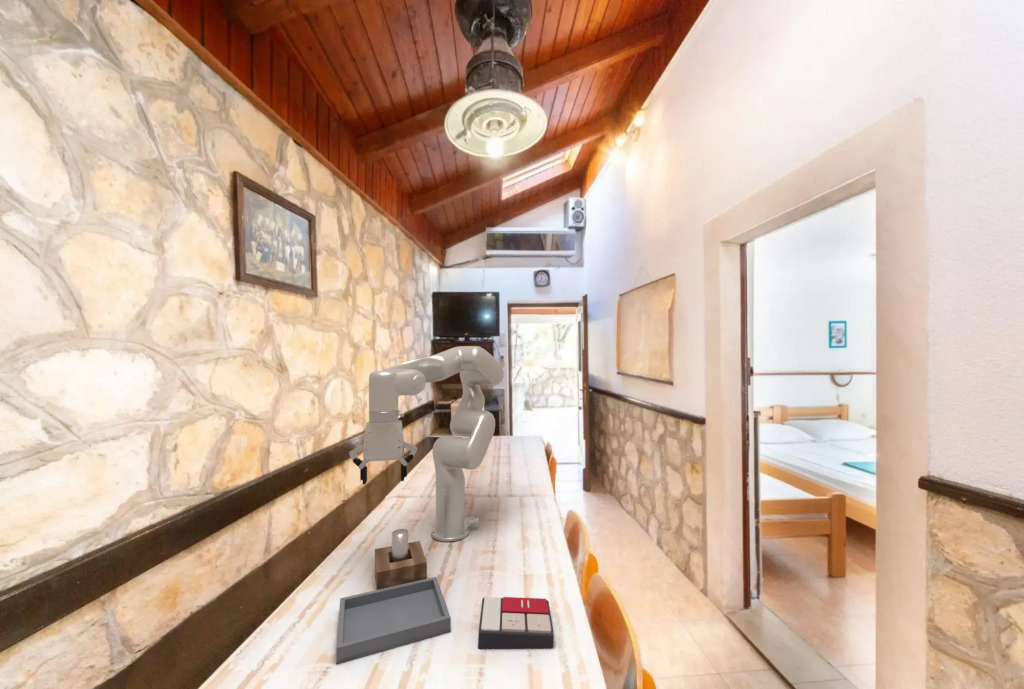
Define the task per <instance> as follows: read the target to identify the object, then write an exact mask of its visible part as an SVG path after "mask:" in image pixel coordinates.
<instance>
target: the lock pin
mask: <svg viewBox="0 0 1024 689" xmlns="http://www.w3.org/2000/svg"><path fill="white" fill-rule="evenodd" d="M408 543H409V530H408V529H406V528H399V529H396V530H393V531H392V534H391V546H392V563H393V562H398V561H403V560H408Z"/></svg>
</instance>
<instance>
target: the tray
mask: <svg viewBox="0 0 1024 689" xmlns="http://www.w3.org/2000/svg"><path fill="white" fill-rule="evenodd" d="M451 622H452V620H451V615H450V611H449V609H448V606H447V603H446V600H445V598H444V595H443V592H442V589H441V587H440V584H439V581H438V577H437V576H434V577H429V578H428V577H427V579H424V580H419V581H415V582H410V583H406V584H401V585H397V586H393V587H388V588H384V589H379V590H376V589H374V590H371V591H367V592H366V591H365V592H363V593H362V592H361V593H358V594H353V595H349V596H344V597H340V598H339V609H338V625H337V639H336V665H339V664H343V663H345V662H346V663H347V662H350V661H354V660H356V659H360V658H364V657H367V656H370V655H375V654H377V653H381V652H385V651H388V650H391V649H395V648H396V649H397V648H399V647H403V646H405V645H409V644H413V643H416V642H420V641H423V640H427V639H430V638H434V637H437V636H441V635H445V634H448V633H451V631H452V630H451V629H452V628H451V627H452V626H451V624H452V623H451Z"/></svg>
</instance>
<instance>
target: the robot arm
mask: <svg viewBox="0 0 1024 689" xmlns="http://www.w3.org/2000/svg"><path fill="white" fill-rule="evenodd" d="M501 364H502V363H500V362H499V361H498V360H497V359H496V358H495V357H494V356H493V355H492V354H491V353H490V352H488V351H487V350H486V349H485V348H482V347H481V346H478V345H465V346H464V345H463V346H455V347H452V348H449V349H447V350H445V351H444V350H443V351H441V352H438V353H436V354H433V355H429V356H425V357H421V358H418V359H412V360H409V361H404V362H401V363H399V364H398V363H397V364H395V365H392V366H390V367H387V368H385V369H384V370H376V371H372V372H370V374H369V376H368V421H367V422H366V424H365V428H364V436H363V444H360V445H359V446H357V447H356V448H354V449H352V450H350V451H349V452H348V455H349V457H350V458H351V460H352V462H353V464H355V466H357V467H358V469H359V472H360V473H359V474H360V475H359V477H360V478H359V480H360V481H362V485H366V484H367V481H368V466H367V465H368V463H369V462H381V461H393V460H395V461H396V460H397V461H399V463H401V465H400V481H401V482H404V481H405V477H407V475H408V472H407V471H408V464H409V463H410V462H411V461H412V460H413V459H414V457H415V455H416V453H417V451H418V447H417V446H415V445H413V444H411V443H409V442H406V441H404V440H405V439H404V427H403V422H402V420H401V419H400V418H404V417H405V412H404V411H401V410H400V409H399V397H400V396H408V397H409V396H410V397H412V396H416V395H419V394H420V393H422V392H423V390H425V388H426V384H427V383H435V382H436V383H437V382H442V381H444V380H447V379H448V378H450V377H452V376H454V375H456V374H459V378H460V382H461V387H462V396H461V399H460V401H459V403H458V405H457V408H456V409H455V411H454V414H453V415H452V417H451V420H450V423H449V429H450V431H451V433H452V434H454V435H444V436H440V437H438V438H437V439H436V440H435V442H434V443H433V446H432V453H431V454H432V458H433V459H432V460H433V464H434V469H435V525H434V526H433V527H432V528H431V529H430V535H431V538H433V539H434V540H437V541H439V542H445V543H446V542H456V541H460V540H462V539H464V538H466V537H467V536H468V535H469V534H470V533H471V532H470V530H471V528H470V527H471V526H472V525H474V526H476V525H479V524H480V518H479V517H474V516H471V515H470V516H468V517H467V516H466V478H465V474H464V471H463V469H465V470H476V469H478V468H479V467H480V466H481V465H482V463H483V461H484V458H485V456H486V453H487V451H488V449H489V447H490V444H491V441H492V439H493V436H494V434H495V428H496V419H495V417H494V414H493V413H492V412H490V411H488V410H486V409H485V410H483V408H484V406H485V403H486V401H485V400H486V399H485V395H484V394H483V390H482V389H481V386H490V387H491V386H497V385H500V384H501V383H502V382H503V380H504V376H505V373H504V369H503V366H502V365H501ZM399 419H400V420H399ZM455 435H456V436H455ZM405 449H406V450H409V451H410V453H409V454H408V456H407V457H406V456H405V455H404V453H405ZM362 451H363V452H362ZM361 452H362V453H363V454H362V456H363V459H362V460H361V459H360V458H359V457H358V455H357V454H358V453H361Z"/></svg>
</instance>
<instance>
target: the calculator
mask: <svg viewBox="0 0 1024 689" xmlns="http://www.w3.org/2000/svg"><path fill="white" fill-rule="evenodd" d="M478 624H479V626H478V640H477V641H478V642H477V649H478V650H501V649H520V650H552V649H554V639H555V633H554V627H553V621H552V615H551V609H550V602H549V600H548V599H547V598H540V597H539V598H538V597H537V598H536V597H514V596H513V597H512V596H503V597H492V596H484V597H482V599H481V608H480V617H479V623H478Z"/></svg>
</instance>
